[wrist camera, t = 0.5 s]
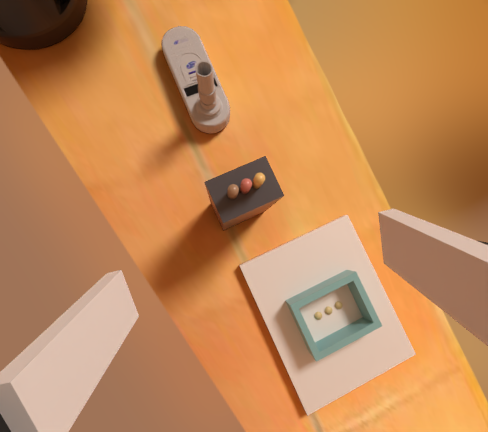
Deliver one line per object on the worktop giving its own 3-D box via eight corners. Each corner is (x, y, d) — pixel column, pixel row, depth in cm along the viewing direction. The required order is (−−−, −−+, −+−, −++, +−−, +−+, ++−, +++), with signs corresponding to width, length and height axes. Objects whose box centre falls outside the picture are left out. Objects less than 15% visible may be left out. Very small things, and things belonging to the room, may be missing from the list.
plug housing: (211, 203, 35) (202, 176, 21) (251, 185, 36) (269, 148, 22) (223, 230, 35) (223, 221, 21) (263, 212, 35) (289, 191, 22)
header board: (239, 265, 34) (240, 267, 31) (344, 215, 36) (356, 212, 33) (305, 410, 33) (314, 429, 30) (410, 351, 35) (431, 363, 31)
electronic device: (183, -37, 28) (238, 82, 27) (195, 36, 38) (235, 127, 37) (136, -23, 28) (189, 100, 26) (160, 48, 38) (200, 140, 36)
